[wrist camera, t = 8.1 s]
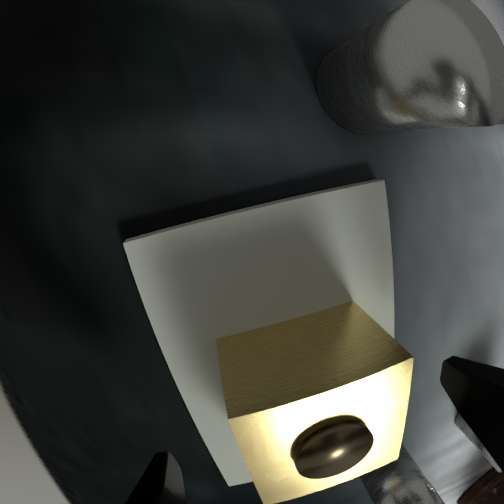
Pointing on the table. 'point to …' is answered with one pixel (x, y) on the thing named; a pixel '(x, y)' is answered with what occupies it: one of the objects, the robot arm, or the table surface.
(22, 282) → the table surface
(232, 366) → the nut
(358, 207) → the mat
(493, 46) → the spacers
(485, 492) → the mortar and pestle
